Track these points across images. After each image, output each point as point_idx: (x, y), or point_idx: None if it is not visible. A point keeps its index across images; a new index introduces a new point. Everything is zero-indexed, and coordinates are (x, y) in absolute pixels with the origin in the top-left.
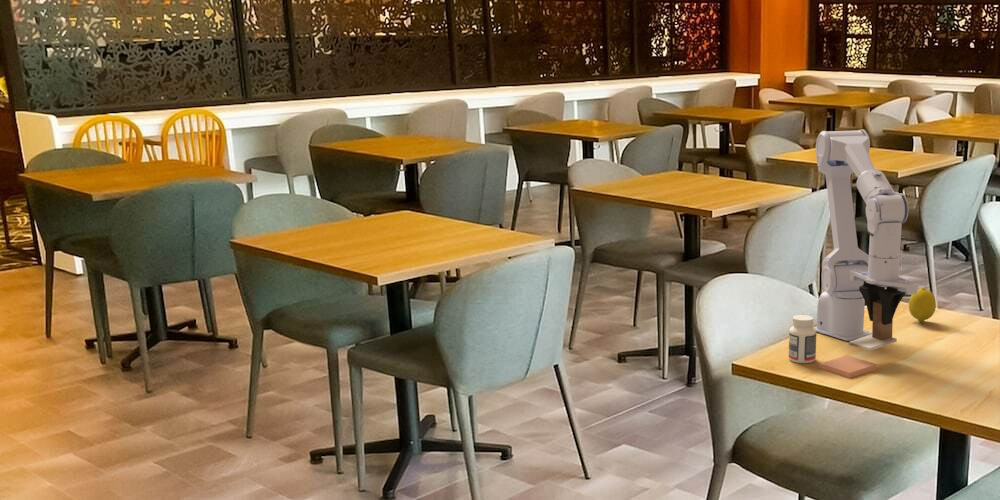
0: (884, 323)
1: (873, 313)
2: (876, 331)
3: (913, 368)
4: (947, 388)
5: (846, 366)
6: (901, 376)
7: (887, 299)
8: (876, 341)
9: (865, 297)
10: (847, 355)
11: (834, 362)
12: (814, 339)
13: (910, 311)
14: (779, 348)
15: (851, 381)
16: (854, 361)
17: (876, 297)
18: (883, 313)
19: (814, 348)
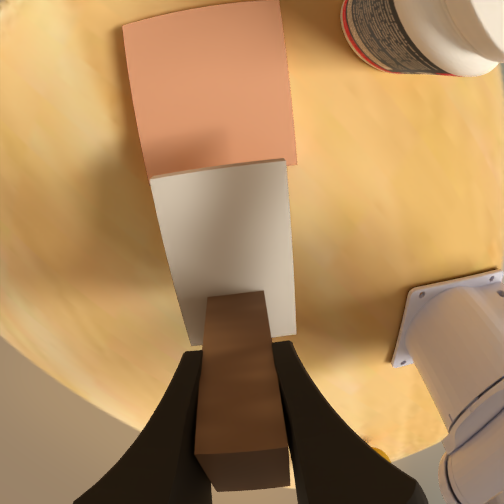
0: (183, 355)
1: (272, 382)
2: (241, 314)
3: (121, 287)
4: None
5: (186, 59)
6: (71, 207)
7: (97, 489)
8: (209, 269)
9: (341, 453)
10: (294, 160)
11: (255, 51)
12: (384, 16)
13: (380, 453)
14: (491, 74)
15: (99, 18)
16: (219, 130)
17: (297, 483)
18: (176, 399)
19: (365, 26)
